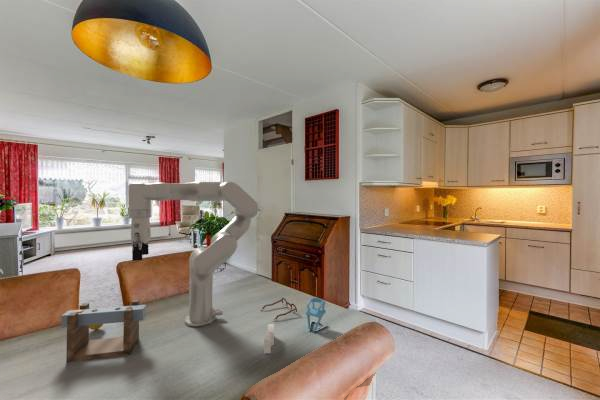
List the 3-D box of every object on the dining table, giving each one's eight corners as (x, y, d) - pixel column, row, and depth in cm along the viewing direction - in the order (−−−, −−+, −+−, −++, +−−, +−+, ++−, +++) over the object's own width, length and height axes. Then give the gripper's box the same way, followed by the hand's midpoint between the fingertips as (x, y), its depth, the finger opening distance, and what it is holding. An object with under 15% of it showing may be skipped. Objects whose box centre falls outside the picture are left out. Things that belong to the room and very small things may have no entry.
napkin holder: (268, 333, 108) (268, 319, 108) (291, 342, 102) (291, 327, 102) (241, 351, 96) (241, 335, 96) (266, 362, 90) (266, 345, 89)
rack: (138, 339, 101) (139, 299, 101) (129, 354, 91) (130, 310, 91) (82, 345, 96) (82, 303, 96) (66, 362, 86) (67, 315, 86)
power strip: (146, 315, 99) (146, 303, 99) (142, 320, 95) (143, 307, 95) (68, 322, 92) (68, 309, 92) (61, 327, 88) (61, 314, 88)
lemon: (95, 334, 103) (95, 314, 103) (83, 332, 104) (83, 312, 104) (108, 327, 109) (108, 308, 108) (96, 326, 110) (97, 306, 110)
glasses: (297, 315, 125) (298, 305, 125) (273, 322, 117) (273, 311, 117) (283, 306, 136) (283, 296, 136) (259, 311, 128) (259, 301, 128)
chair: (302, 330, 111) (303, 301, 111) (311, 321, 118) (312, 294, 118) (320, 334, 107) (320, 305, 107) (327, 326, 115) (328, 298, 114)
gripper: (145, 215, 98) (146, 262, 99) (155, 212, 115) (156, 252, 115) (121, 216, 96) (122, 263, 96) (135, 212, 112) (136, 253, 113)
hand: (140, 257), depth 106 cm, fingers open, 9 cm apart
